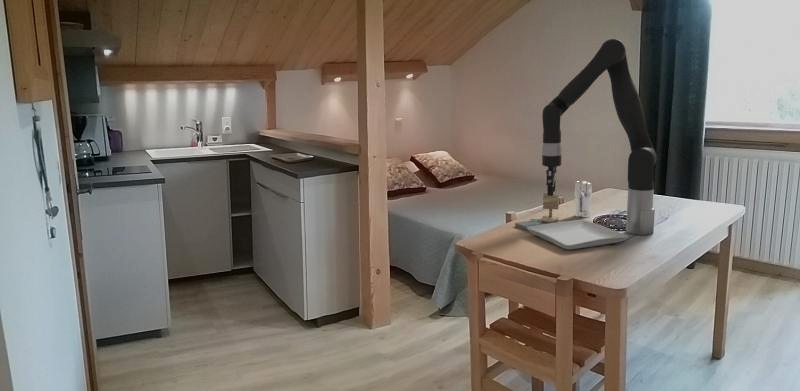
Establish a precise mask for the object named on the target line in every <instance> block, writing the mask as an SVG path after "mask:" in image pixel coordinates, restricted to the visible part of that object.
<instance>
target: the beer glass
mask: <svg viewBox="0 0 800 391" xmlns="http://www.w3.org/2000/svg"><path fill="white" fill-rule="evenodd" d="M592 189H593V187H592V181H590V180H575V185H574V199H575V211H574V212H575V213H574V216H575V217H576V218H589V217H590V209H589V208H590V203H591V197H592V191H593V190H592Z"/></svg>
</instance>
